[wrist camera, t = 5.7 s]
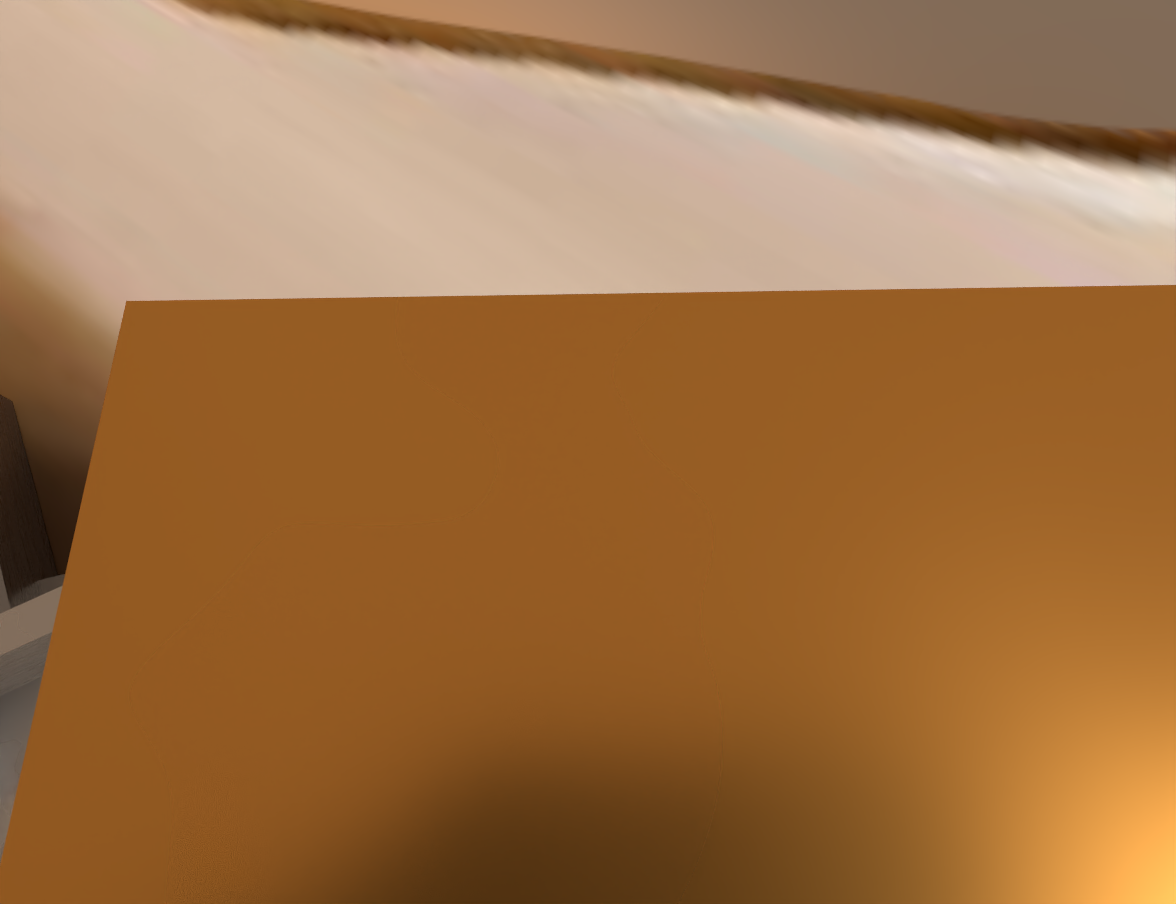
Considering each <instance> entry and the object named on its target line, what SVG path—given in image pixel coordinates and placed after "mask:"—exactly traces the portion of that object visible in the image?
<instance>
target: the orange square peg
mask: <svg viewBox="0 0 1176 904" xmlns="http://www.w3.org/2000/svg"><path fill="white" fill-rule="evenodd" d="M0 904H1176V285H1147V286H1082V287H1017V288H952V289H887V290H822V291H757V292H692V293H627V294H562V295H497V296H432V297H367V298H302V299H237V300H171V301H126V305H125V310H124V314H123V319H122V323H121V328H120V332H119V337H118V341H117V345H116V350H115V354H114V359H113V363H112V368H111V372H110V377H109V381H108V386H107V390H106V395H105V399H104V403H103V408H102V412H101V417H100V421H99V426H98V430H97V435H96V439H95V444H94V448H93V453H92V457H91V461H90V466H89V470H88V475H87V479H86V484H85V488H84V493H83V497H82V502H81V506H80V510H79V515H78V519H77V524H76V528H75V533H74V537H73V542H72V546H71V551H70V555H69V560H68V564H67V568H66V573H65V577H64V582H63V586H62V591H61V595H60V600H59V604H58V609H57V613H56V617H55V622H54V626H53V631H52V635H51V640H50V644H49V649H48V653H47V658H46V662H45V667H44V671H43V675H42V680H41V684H40V689H39V693H38V698H37V702H36V707H35V711H34V716H33V720H32V725H31V729H30V733H29V738H28V742H27V747H26V751H25V756H24V760H23V765H22V769H21V774H20V778H19V783H18V787H17V791H16V796H15V800H14V805H13V809H12V814H11V818H10V823H9V827H8V832H7V836H6V840H5V845H4V849H3V854H2V858H1V863H0Z"/></svg>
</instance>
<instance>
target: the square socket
mask: <svg viewBox="0 0 1176 904" xmlns="http://www.w3.org/2000/svg"><path fill="white" fill-rule="evenodd" d="M64 577H65V574H64V575H57V571H56V567H55V563H54V559H53V556H52V552H51V548H50V544H49V540H48V536H47V533H46V529H45V525H44V521H43V517H42V513H41V510H40V506H39V502H38V498H37V494H36V491H35V487H34V483H33V479H32V475H31V471H30V468H29V464H28V460H27V456H26V452H25V448H24V445H23V441H22V437H21V433H20V429H19V425H18V422H17V418H16V414H15V410H14V406H13V402H12V401H11V400H9V399H7V398H5V397H4V396H2V395H0V863H1V858H2V854H3V849H4V845H5V840H6V836H7V832H8V827H9V823H10V818H11V814H12V809H13V805H14V800H15V796H16V791H17V787H18V783H19V778H20V774H21V769H22V765H23V760H24V756H25V751H26V747H27V742H28V738H29V733H30V729H31V725H32V720H33V716H34V711H35V707H36V702H37V698H38V693H39V689H40V684H41V680H42V675H43V671H44V667H45V662H46V658H47V653H48V649H49V644H50V640H51V635H52V631H53V626H54V622H55V617H56V613H57V609H58V604H59V600H60V595H61V591H62V586H63V582H64Z"/></svg>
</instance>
